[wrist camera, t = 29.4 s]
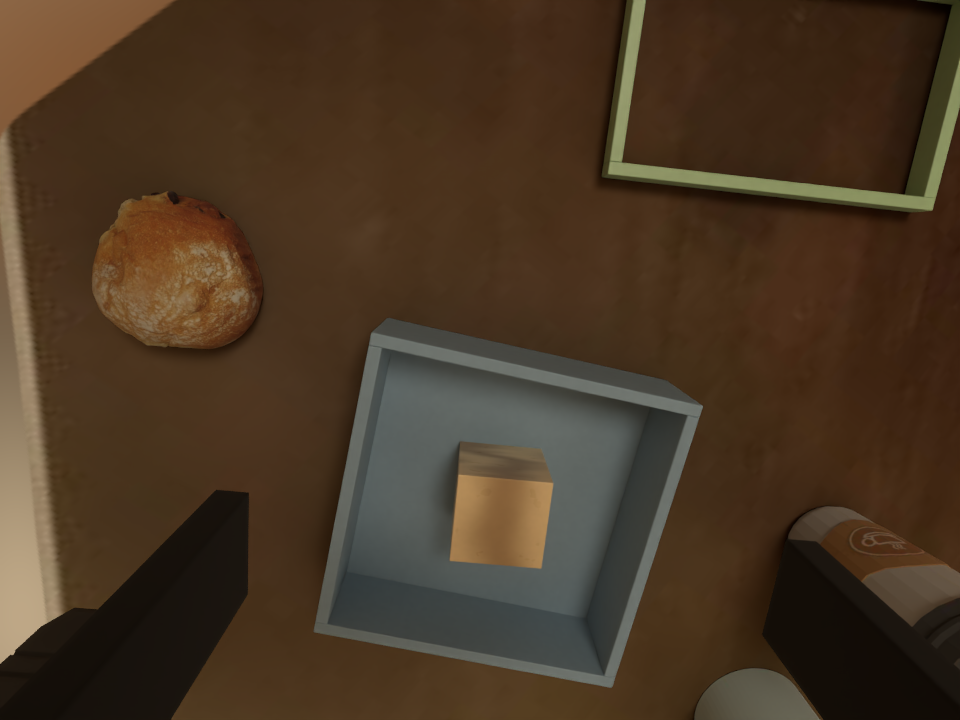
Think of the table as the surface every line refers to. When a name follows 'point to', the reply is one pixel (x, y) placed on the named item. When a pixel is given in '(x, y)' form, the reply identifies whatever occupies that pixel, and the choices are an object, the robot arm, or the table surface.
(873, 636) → the robot arm
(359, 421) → the bin
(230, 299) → the bread roll
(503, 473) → the block
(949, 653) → the coffee cup
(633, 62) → the frame
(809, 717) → the mug
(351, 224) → the table surface
